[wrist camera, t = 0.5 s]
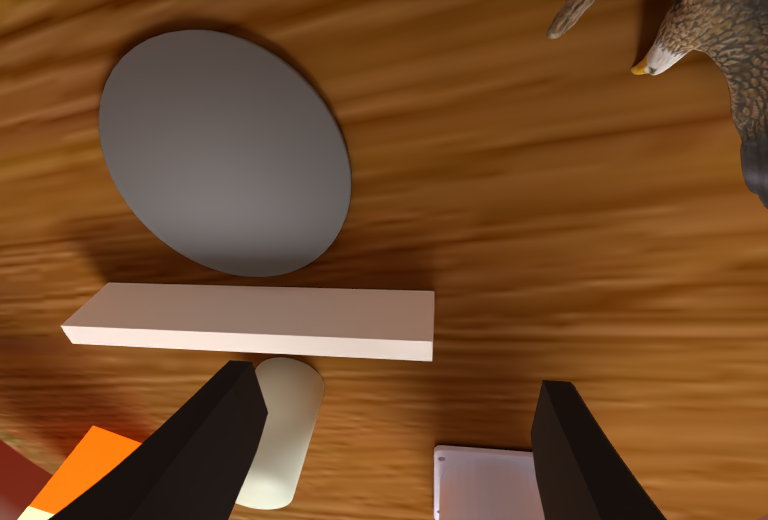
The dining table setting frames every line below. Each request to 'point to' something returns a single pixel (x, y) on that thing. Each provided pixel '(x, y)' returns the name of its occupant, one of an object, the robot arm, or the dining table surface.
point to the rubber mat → (225, 152)
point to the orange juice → (80, 471)
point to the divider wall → (259, 320)
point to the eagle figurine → (729, 52)
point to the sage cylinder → (282, 431)
